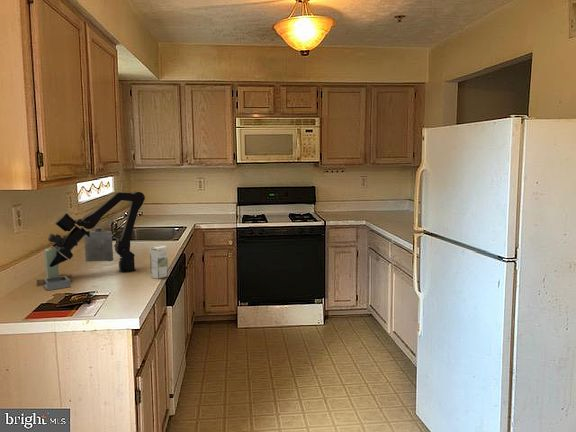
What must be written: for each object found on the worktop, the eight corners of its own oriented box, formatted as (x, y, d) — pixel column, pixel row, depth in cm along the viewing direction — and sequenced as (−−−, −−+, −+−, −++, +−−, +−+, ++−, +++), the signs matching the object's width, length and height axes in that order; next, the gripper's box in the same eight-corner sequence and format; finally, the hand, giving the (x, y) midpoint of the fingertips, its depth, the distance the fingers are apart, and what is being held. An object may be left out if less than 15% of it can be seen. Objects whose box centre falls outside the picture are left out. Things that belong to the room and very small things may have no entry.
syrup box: (160, 274, 226) (159, 244, 224) (168, 276, 222) (167, 246, 220) (150, 277, 221) (149, 246, 220) (158, 279, 218) (157, 248, 216)
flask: (87, 259, 259) (85, 226, 257) (114, 259, 260) (112, 226, 258) (84, 261, 256) (82, 227, 254) (112, 260, 256) (110, 227, 254)
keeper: (66, 282, 213) (65, 275, 213) (70, 286, 206) (70, 280, 205) (43, 285, 208) (43, 278, 207) (47, 290, 201) (46, 283, 200)
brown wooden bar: (71, 279, 217) (70, 274, 217) (72, 280, 216) (71, 275, 216) (36, 284, 209) (36, 279, 209) (37, 285, 208) (37, 280, 208)
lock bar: (57, 278, 221) (55, 248, 219) (59, 280, 217) (57, 249, 215) (46, 279, 218) (44, 249, 216) (48, 281, 214) (46, 251, 213)
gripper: (55, 224, 224) (30, 250, 219) (63, 229, 209) (36, 257, 204) (74, 239, 230) (50, 265, 225) (83, 245, 215) (58, 273, 210)
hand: (48, 264), depth 216 cm, fingers open, 8 cm apart
